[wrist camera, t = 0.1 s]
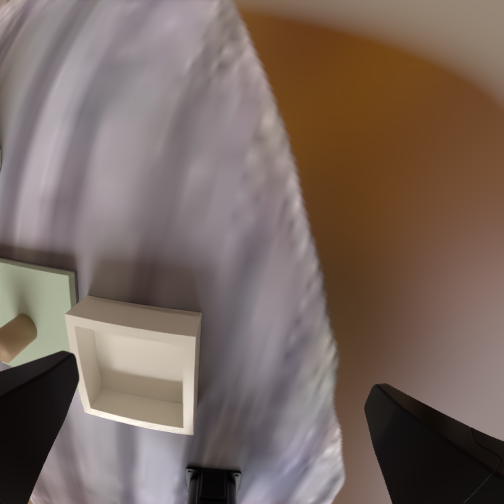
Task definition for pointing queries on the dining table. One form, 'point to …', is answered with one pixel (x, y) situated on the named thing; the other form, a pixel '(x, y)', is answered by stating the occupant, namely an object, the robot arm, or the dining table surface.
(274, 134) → the dining table surface
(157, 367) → the cream square tray
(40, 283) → the lid
